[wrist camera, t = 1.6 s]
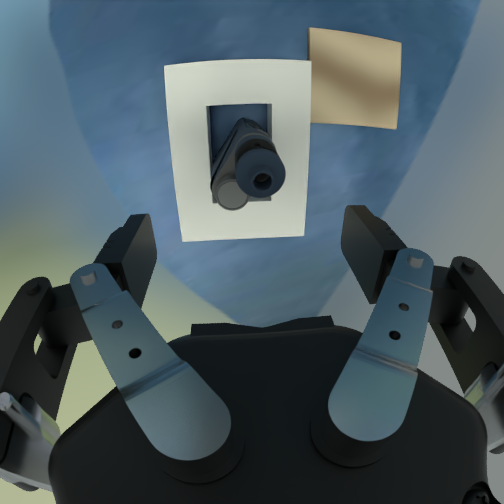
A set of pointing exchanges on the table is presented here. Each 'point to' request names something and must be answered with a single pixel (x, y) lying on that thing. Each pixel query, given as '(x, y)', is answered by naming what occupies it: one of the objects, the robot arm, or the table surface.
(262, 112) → the table surface
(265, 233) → the white cutout frame
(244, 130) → the vaping device
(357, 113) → the tan rectangular block
